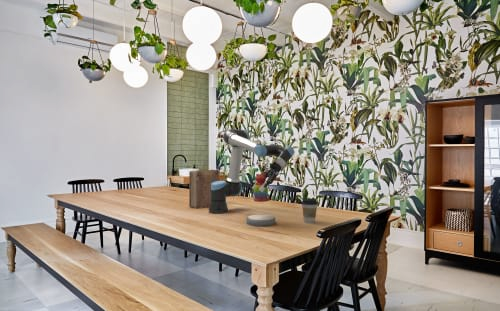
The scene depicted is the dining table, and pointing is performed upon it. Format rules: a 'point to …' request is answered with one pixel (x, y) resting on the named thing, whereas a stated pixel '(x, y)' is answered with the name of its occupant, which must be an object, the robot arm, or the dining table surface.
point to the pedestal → (261, 220)
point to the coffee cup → (309, 210)
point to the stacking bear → (257, 193)
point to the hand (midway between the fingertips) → (256, 189)
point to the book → (201, 187)
